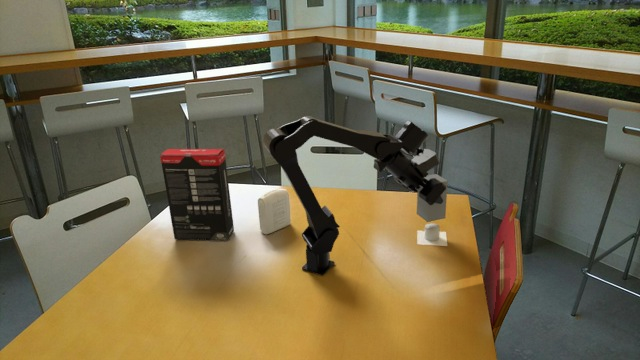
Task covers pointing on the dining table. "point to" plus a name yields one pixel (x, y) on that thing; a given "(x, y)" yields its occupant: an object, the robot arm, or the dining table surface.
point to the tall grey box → (436, 209)
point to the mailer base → (424, 242)
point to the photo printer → (274, 210)
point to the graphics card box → (198, 193)
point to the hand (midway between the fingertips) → (436, 198)
